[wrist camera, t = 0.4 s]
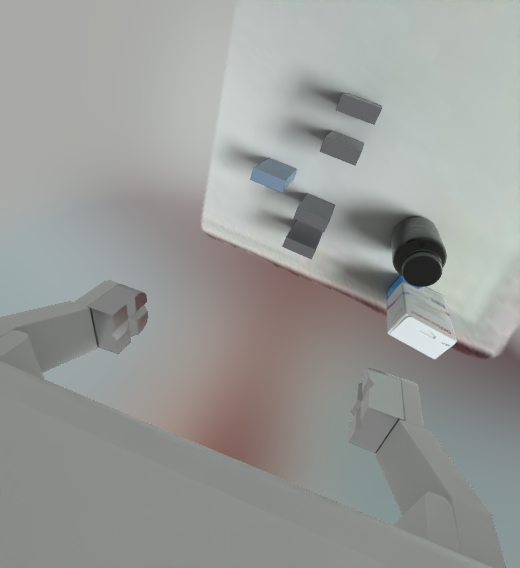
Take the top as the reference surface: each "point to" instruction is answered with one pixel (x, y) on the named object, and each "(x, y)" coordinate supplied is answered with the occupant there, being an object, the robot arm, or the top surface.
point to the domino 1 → (273, 174)
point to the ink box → (419, 318)
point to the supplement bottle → (418, 251)
